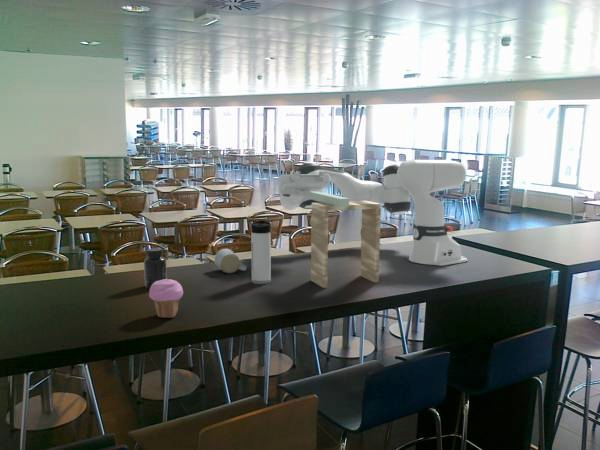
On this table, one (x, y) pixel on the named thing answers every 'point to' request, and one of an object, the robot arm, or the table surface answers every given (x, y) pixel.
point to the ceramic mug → (228, 261)
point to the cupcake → (166, 297)
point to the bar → (329, 199)
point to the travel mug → (261, 252)
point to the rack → (368, 240)
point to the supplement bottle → (154, 267)
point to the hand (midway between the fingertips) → (310, 173)
